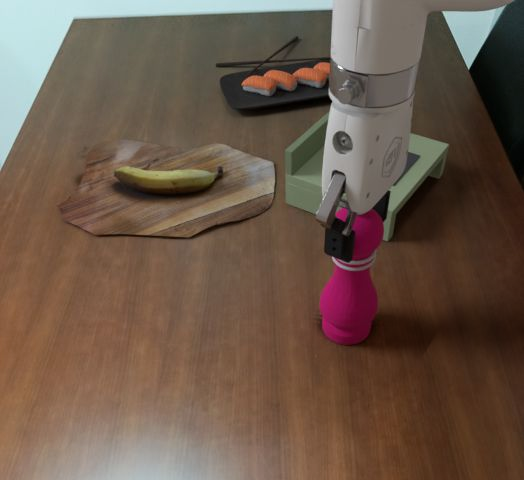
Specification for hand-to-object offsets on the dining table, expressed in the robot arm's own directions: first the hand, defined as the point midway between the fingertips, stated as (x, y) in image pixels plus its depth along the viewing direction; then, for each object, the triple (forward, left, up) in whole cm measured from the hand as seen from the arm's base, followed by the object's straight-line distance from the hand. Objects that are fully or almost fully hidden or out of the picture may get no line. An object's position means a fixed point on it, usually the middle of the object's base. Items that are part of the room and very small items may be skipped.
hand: (355, 235), depth 64 cm
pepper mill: (0, 0, -15) cm, 15 cm away
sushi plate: (+45, -55, -15) cm, 73 cm away
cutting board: (+40, -12, -15) cm, 45 cm away
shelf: (+12, -28, -15) cm, 34 cm away
